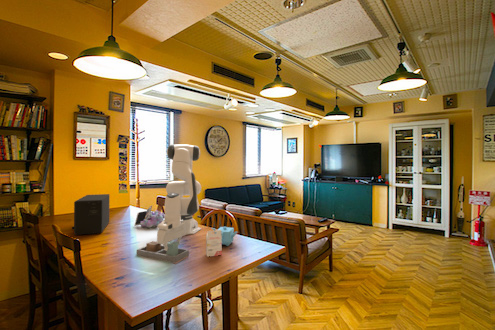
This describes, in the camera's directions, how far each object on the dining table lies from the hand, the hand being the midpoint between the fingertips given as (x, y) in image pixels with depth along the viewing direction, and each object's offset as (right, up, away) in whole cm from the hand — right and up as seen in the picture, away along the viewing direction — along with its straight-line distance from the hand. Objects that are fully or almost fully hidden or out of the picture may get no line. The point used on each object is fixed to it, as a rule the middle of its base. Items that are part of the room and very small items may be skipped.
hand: (172, 247), depth 141 cm
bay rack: (-6, -6, +2) cm, 9 cm away
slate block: (0, -5, 0) cm, 5 cm away
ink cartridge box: (+22, -6, +6) cm, 24 cm away
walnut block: (-12, -5, +5) cm, 14 cm away
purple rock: (-38, -5, +67) cm, 77 cm away
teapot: (+26, -6, +26) cm, 37 cm away
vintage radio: (-80, -4, +57) cm, 98 cm away
